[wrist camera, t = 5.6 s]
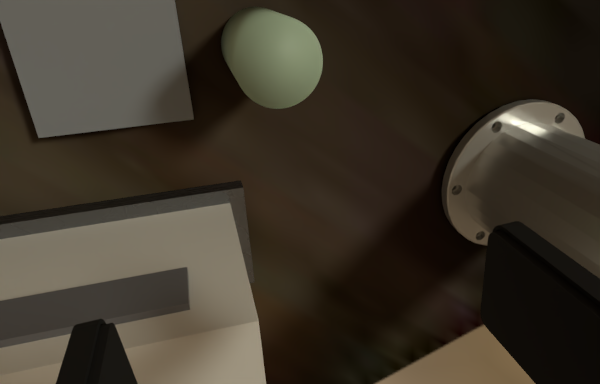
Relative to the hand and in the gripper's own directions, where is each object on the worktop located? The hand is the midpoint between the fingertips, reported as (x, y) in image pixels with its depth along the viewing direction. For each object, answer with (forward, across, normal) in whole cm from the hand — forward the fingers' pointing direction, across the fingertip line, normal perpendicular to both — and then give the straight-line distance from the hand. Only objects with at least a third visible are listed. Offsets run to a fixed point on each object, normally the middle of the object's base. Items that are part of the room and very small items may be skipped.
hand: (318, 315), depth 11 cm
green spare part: (+21, -2, -3) cm, 21 cm away
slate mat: (+21, +7, -4) cm, 22 cm away
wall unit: (+21, +10, +9) cm, 25 cm away
